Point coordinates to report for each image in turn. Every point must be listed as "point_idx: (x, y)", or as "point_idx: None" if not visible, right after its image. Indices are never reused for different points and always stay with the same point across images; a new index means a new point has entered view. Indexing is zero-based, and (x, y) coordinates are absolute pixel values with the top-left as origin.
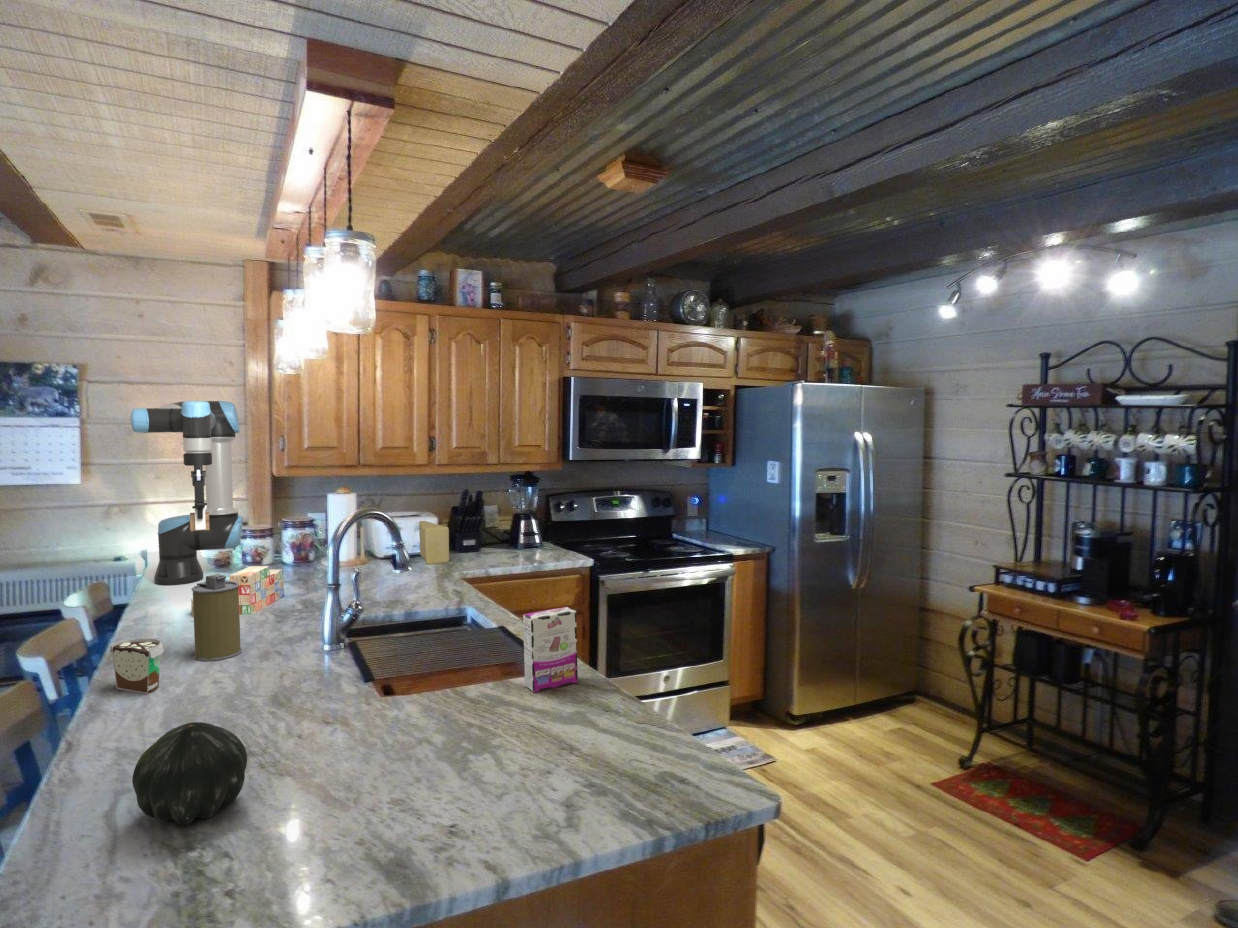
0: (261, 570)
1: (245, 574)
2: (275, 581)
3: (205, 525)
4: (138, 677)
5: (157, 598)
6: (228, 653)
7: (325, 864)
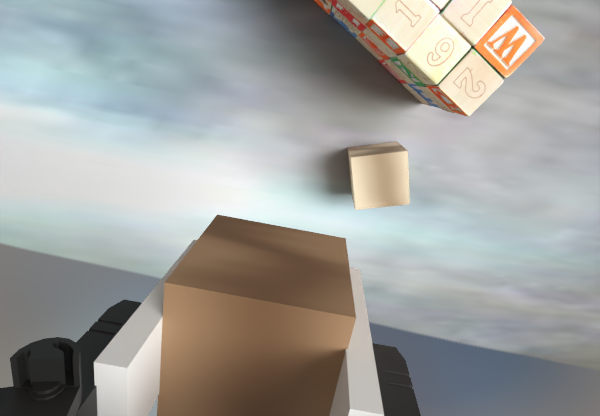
0: None
1: (503, 52)
2: None
3: (362, 286)
4: None
5: (90, 230)
6: None
7: None
